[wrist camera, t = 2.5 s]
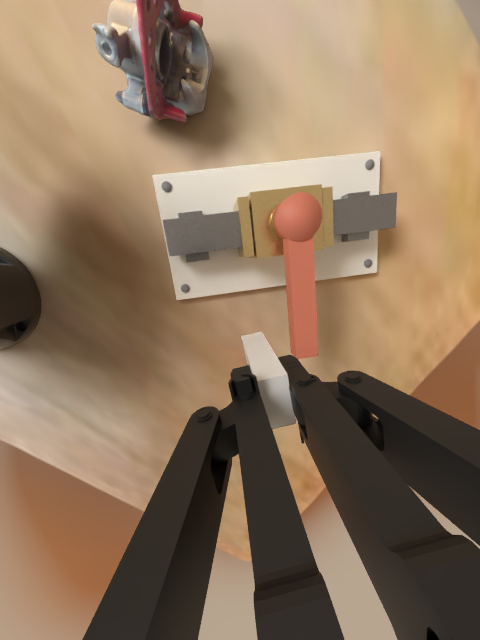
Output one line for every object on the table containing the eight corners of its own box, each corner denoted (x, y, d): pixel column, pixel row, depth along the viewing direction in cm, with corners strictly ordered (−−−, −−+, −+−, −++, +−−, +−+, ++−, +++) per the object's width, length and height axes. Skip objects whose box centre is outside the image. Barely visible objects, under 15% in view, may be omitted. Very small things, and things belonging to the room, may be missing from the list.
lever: (270, 200, 25) (276, 194, 23) (311, 195, 26) (321, 189, 23) (283, 353, 30) (289, 361, 28) (318, 347, 30) (326, 355, 28)
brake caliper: (218, 143, 28) (115, 60, 19) (160, 146, 34) (59, 84, 24) (242, 21, 26) (136, -151, 16) (175, 47, 31) (67, -67, 22)
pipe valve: (179, 266, 35) (168, 270, 27) (169, 214, 33) (154, 200, 25) (366, 242, 37) (410, 238, 28) (367, 191, 35) (414, 171, 27)
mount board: (177, 298, 36) (176, 300, 35) (154, 177, 32) (151, 174, 30) (372, 271, 38) (377, 272, 37) (374, 154, 34) (381, 150, 32)
